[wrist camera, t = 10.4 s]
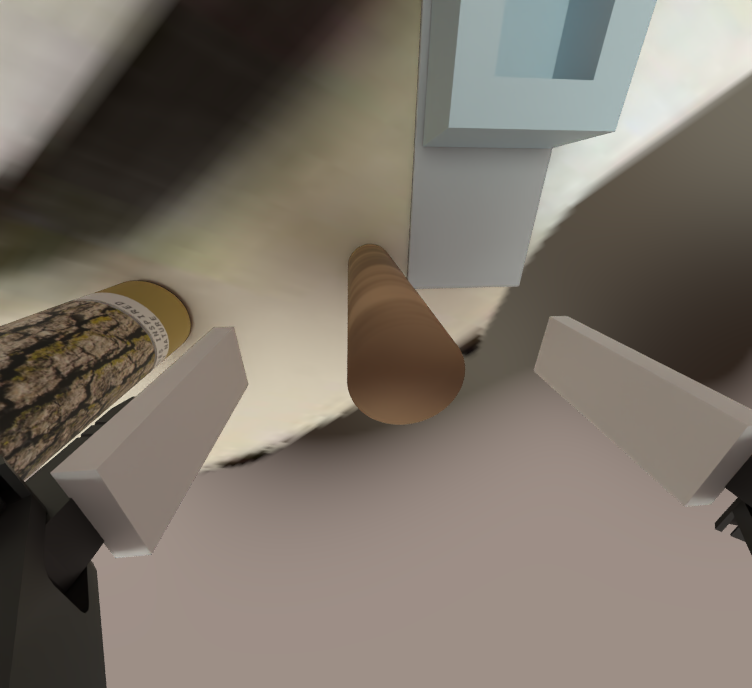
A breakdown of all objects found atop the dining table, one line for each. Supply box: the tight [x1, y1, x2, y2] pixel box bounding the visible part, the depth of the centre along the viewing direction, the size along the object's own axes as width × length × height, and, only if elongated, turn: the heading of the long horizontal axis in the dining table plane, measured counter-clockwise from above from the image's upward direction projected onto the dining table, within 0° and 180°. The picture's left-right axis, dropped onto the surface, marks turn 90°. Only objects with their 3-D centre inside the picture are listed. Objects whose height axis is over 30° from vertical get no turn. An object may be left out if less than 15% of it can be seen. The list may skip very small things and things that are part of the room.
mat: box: [407, 0, 552, 289], centre depth 21 cm, size 23×11×1 cm, turn 0°
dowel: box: [347, 244, 465, 425], centre depth 17 cm, size 4×4×18 cm
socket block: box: [423, 0, 657, 149], centre depth 16 cm, size 10×10×6 cm
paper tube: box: [0, 281, 191, 481], centre depth 14 cm, size 7×7×25 cm
